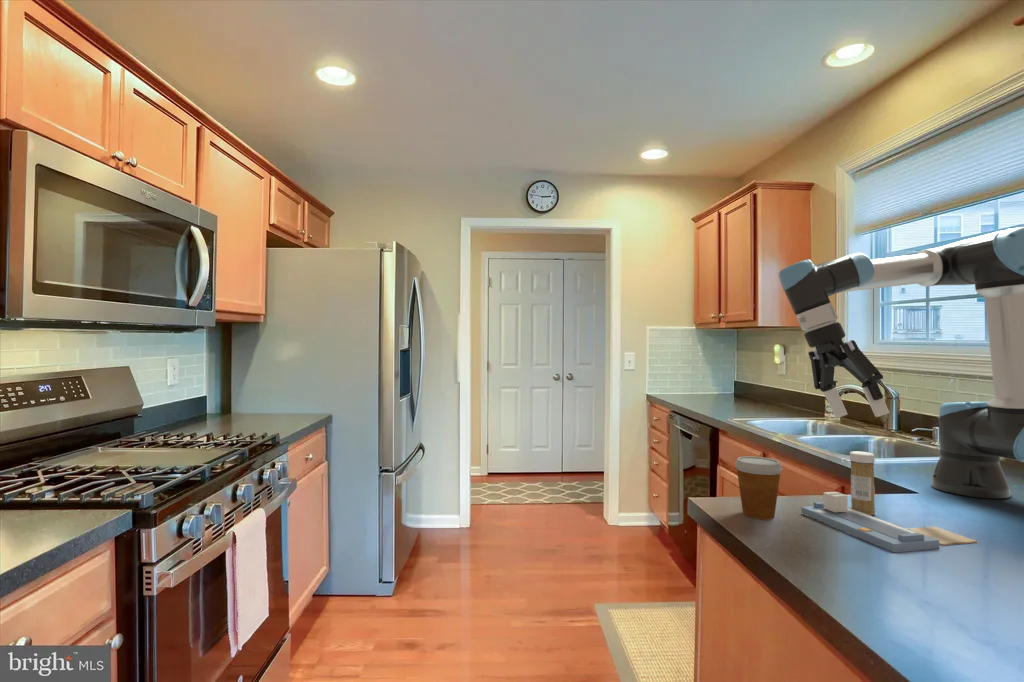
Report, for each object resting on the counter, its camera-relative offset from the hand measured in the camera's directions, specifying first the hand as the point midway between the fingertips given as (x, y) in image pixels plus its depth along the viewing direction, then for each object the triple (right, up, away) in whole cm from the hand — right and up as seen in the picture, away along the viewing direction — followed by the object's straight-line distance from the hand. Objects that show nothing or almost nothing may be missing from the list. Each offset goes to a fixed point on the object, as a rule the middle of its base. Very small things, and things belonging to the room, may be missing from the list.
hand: (860, 415), depth 112 cm
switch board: (-6, -22, -9) cm, 24 cm away
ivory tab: (-7, -20, -2) cm, 21 cm away
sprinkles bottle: (+1, -22, +1) cm, 22 cm away
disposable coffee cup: (-23, -22, 0) cm, 32 cm away
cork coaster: (+6, -22, -13) cm, 26 cm away
